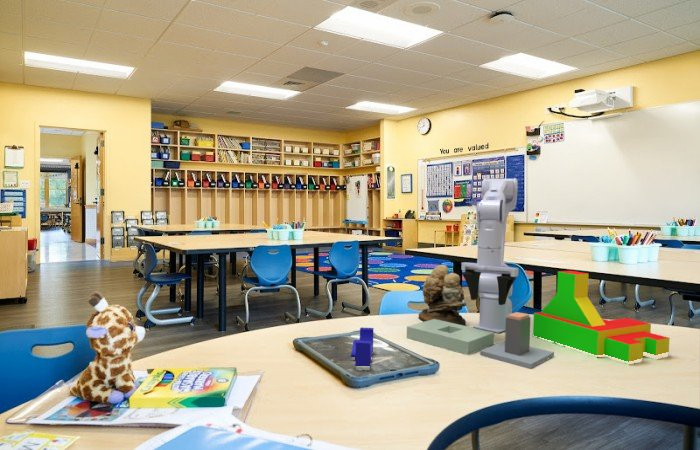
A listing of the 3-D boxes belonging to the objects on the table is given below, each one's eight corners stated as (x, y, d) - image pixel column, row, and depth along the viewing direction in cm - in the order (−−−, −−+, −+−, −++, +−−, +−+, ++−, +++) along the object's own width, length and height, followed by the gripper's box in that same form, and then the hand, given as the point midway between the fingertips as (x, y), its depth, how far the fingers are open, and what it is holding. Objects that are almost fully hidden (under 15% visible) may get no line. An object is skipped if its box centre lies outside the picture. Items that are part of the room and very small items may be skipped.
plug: (514, 347, 111) (516, 311, 111) (529, 351, 109) (530, 314, 108) (504, 352, 108) (505, 315, 107) (519, 355, 105) (520, 317, 105)
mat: (505, 344, 117) (505, 340, 117) (553, 356, 108) (554, 352, 108) (480, 355, 109) (480, 350, 108) (530, 368, 100) (531, 364, 100)
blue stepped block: (353, 352, 109) (354, 327, 109) (372, 353, 109) (373, 328, 109) (347, 370, 97) (348, 342, 97) (369, 372, 97) (370, 343, 97)
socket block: (433, 329, 130) (434, 318, 130) (493, 344, 117) (494, 332, 117) (406, 337, 121) (406, 326, 121) (467, 354, 109) (468, 342, 108)
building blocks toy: (621, 368, 102) (625, 284, 102) (532, 337, 125) (535, 269, 124) (674, 357, 110) (678, 280, 109) (582, 330, 133) (585, 266, 132)
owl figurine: (478, 326, 134) (480, 267, 133) (446, 331, 129) (447, 270, 128) (439, 312, 150) (440, 259, 149) (408, 316, 145) (409, 261, 144)
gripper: (455, 246, 120) (454, 299, 120) (509, 251, 109) (507, 309, 110) (470, 245, 124) (468, 296, 125) (523, 249, 114) (521, 304, 115)
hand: (487, 301), depth 118 cm, fingers open, 7 cm apart
